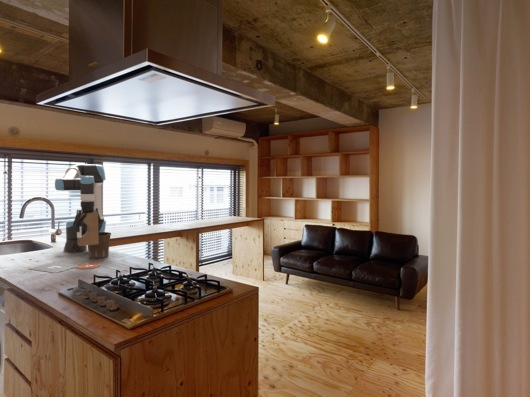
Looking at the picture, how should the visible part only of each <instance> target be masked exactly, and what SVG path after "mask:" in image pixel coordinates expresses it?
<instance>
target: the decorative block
mask: <svg viewBox="0 0 530 397" xmlns="http://www.w3.org/2000/svg"><path fill="white" fill-rule="evenodd" d="M84 215H85V213H81V217H80V219H81V218H82V217H83V216H84ZM83 222H84V223H85V224H86V225H87V231H86V233H85V234H84V235H82V237H81V238H80V237H77V244H78V246H88V245H96V244H99V239H98V213H97V212H92V213H87V216H86V217H85V218H84V220H83Z"/></svg>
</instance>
